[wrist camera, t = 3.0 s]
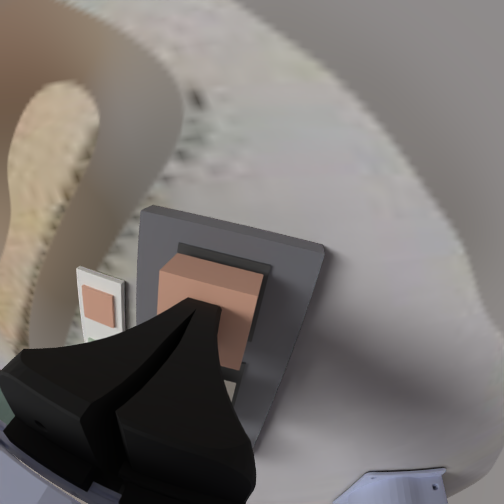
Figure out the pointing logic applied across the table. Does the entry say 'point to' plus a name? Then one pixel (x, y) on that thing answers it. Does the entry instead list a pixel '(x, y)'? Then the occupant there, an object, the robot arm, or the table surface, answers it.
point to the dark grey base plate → (269, 300)
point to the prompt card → (100, 304)
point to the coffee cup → (5, 410)
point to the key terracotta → (214, 298)
